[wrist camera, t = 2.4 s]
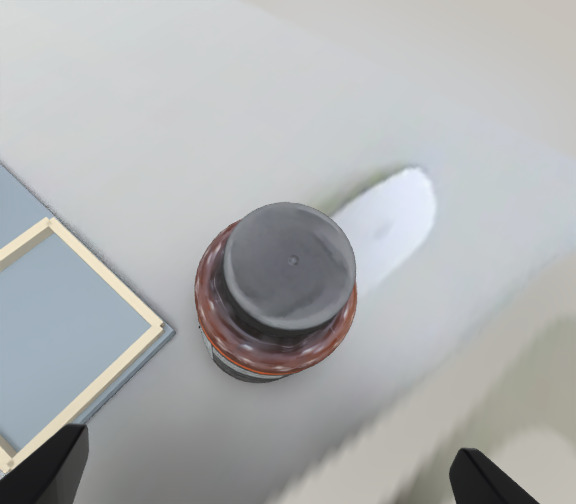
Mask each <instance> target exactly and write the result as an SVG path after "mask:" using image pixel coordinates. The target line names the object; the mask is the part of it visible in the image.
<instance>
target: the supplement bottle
mask: <svg viewBox="0 0 576 504" xmlns="http://www.w3.org/2000/svg"><path fill="white" fill-rule="evenodd" d="M195 304H196V309H197V313H198V321H199V324H200V326H199V328H201V332H202V335H203V340H204V343H205V345H206V348H207V350H208V352H209V354H210V356H211V357H212V359H213V360H214V362H215V363H216V364H217V365H218V366H219V367H220V368H221V369H222V370H223V371H224V372H226V373H227V374H229V375H230V376H232V377H234V378H236V379H238V380H242V381H245V382H251V383H265V382H271V381H275V380H278V379H281V378H284V377H286V376H289V375H292V374H294V373H297V372H300V371H302V370H304V369H307V368H309V367H311V366H313V365H315V364H317V363H319V362H320V361H322V360H324V359H325V358H326V357H327V356H329V355H330V354H331V353H332V352H333V351H334V350H335V349H336V348H337V346H338V345H339V344H340V343H341V342H342V340H343V339H344V338H345V336H346V334H347V332H348V331H349V329H350V327H351V324H352V321H353V318H354V315H355V311H356V305H357V285H356V264H355V256H354V252H353V249H352V247H351V245H350V242H349V240H348V238H347V237H346V235H345V233H344V232H343V231H342V229H341V228H340V227H339V226H338V225H337V224H336V223H335V222H334V221H333V220H332V219H330V218H329V217H328V216H326V215H325V214H324V213H322V212H320V211H319V210H316V209H314V208H312V207H309V206H305V205H302V204H298V203H289V202H281V203H274V204H269V205H265V206H263V207H261V208H258V209H256V210H254V211H252V212H251V213H249V214H248V215H247V216H245V217H244V218H243V219H241V220H239V221H237V222H235V223H233V224H231V225H229V226H228V227H227V228H226V229H224V230H223V231H222V232H220V233H219V234H218V236H217V237H216V238H215V239H214V240H213V241H212V243H211V244H210V245H209V247H208V248H207V250H206V251H205V253H204V255H203V257H202V259H201V261H200V263H199V266H198V269H197V275H196V278H195Z"/></svg>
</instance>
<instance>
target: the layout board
mask: <svg viewBox="0 0 576 504" xmlns="http://www.w3.org/2000/svg"><path fill="white" fill-rule="evenodd" d="M175 334H176V333H175V331H174V330H173V329H172V328H171V327H170V326H169V325H168V324H167V323H166V322H165V321H164V320H163V319H162V318H161V317H160V316H158V315H157V314H156V313H155V312H154V311H153V310H152V309H151V308H150V307H149V306H148V305H147V304H146V303H145V302H144V301H143V300H142V299H141V298H140V297H139V296H138V295H137V294H135V293H134V292H133V291H132V290H131V289H130V288H129V287H128V286H127V285H126V284H125V283H124V282H123V281H122V280H121V279H120V278H119V277H118V276H117V275H116V274H115V273H114V272H113V271H111V270H110V269H109V268H108V267H107V266H106V265H105V264H104V263H103V262H102V261H101V260H100V259H99V258H98V257H97V256H96V255H95V254H94V253H93V252H92V251H91V250H90V249H88V248H87V247H86V246H85V245H84V244H83V243H82V242H81V241H80V240H79V239H78V238H77V237H76V236H75V235H74V234H73V233H72V232H71V231H70V230H69V229H68V228H67V227H65V226H64V225H63V224H62V223H61V222H60V221H59V220H58V219H57V218H56V217H55V216H54V215H53V214H52V213H51V212H50V211H49V210H48V209H47V208H46V207H45V206H44V205H42V204H41V203H40V202H39V201H38V200H37V199H36V198H35V197H34V196H33V195H32V194H31V193H30V192H29V191H28V190H27V189H26V188H25V187H24V186H23V185H22V184H21V183H20V182H18V181H17V180H16V179H15V178H14V177H13V176H12V175H11V174H10V173H9V172H8V171H7V170H6V169H5V168H4V167H3V166H2V165H1V164H0V469H1V470H2V471H3V472H4V473H8V472H10V471H12V470H13V469H14V468H15V467H16V466H17V465H19V464H20V463H21V462H22V461H23V460H24V459H26V458H27V457H28V456H29V455H30V454H31V453H33V452H34V451H35V450H36V449H37V448H39V447H40V446H41V445H42V444H43V443H44V442H46V441H47V440H48V439H49V438H50V437H51V436H53V435H54V434H55V433H56V432H57V431H59V430H60V429H61V428H62V427H63V426H65V425H66V424H68V423H77V424H84V423H85V422H86V421H87V420H88V419H89V418H90V417H91V416H92V415H93V414H94V413H95V412H96V411H97V410H98V409H99V408H100V407H102V406H103V405H104V404H105V403H106V402H107V401H108V400H109V399H110V398H111V397H112V396H113V395H114V394H115V393H116V392H117V391H118V390H119V389H120V388H121V387H122V386H123V385H124V384H125V383H126V382H127V381H128V380H129V379H130V378H131V377H132V376H133V375H134V374H135V373H136V372H137V371H138V370H139V369H140V368H141V367H142V366H143V365H144V364H145V363H146V362H147V361H148V360H149V359H150V358H151V357H152V356H153V355H154V354H155V353H156V352H157V351H158V350H159V349H160V348H161V347H162V346H163V345H164V344H165V343H166V342H167V341H168V340H169V339H171V338H172V337H173V336H174V335H175Z"/></svg>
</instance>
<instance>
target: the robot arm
mask: <svg viewBox="0 0 576 504" xmlns="http://www.w3.org/2000/svg"><path fill="white" fill-rule="evenodd" d="M88 453H89V442H88V427H87V425H86V424H77V423H68V424H66V425H65V426H63V427H62V428H61V429H60V430H59V431H57V432H56V433H55V434H54V435H53V436H51V437H50V438H49V439H48V440H47V441H46V442H44V443H43V444H42V445H41V446H40V447H39V448H37V449H36V450H35V451H34V452H33V453H31V454H30V455H29V456H28V457H27V458H26V459H24V460H23V461H22V462H21V463H20V464H19V465H17V466H16V467H15V468H14V469H13V470H12V471H10V472H9V473H8V474H7V475H6V476H4V477H3V478H2V479H1V480H0V504H73V501H74V498H75V495H76V492H77V489H78V486H79V483H80V480H81V477H82V474H83V471H84V468H85V465H86V462H87V458H88ZM449 478H450V482H451V486H452V489H453V493H454V497H455V500H456V504H539V503H538V502H537V501H536V500H535V499H534V498H533V497H532V496H530V495H529V494H528V493H527V492H526V491H525V490H524V489H522V488H521V487H520V486H519V485H518V484H517V483H516V482H514V481H513V480H512V479H511V478H510V477H509V476H508V475H507V474H506V473H504V472H503V471H502V470H501V469H500V468H499V467H498V466H496V465H495V464H494V463H493V462H492V461H491V460H490V459H489V458H487V457H486V456H485V455H484V454H483V453H482V452H481V451H479V450H478V449H475V448H461V449H459V451H458V453H457V455H456V457H455V459H454V461H453V463H452V465H451V467H450V471H449Z"/></svg>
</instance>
